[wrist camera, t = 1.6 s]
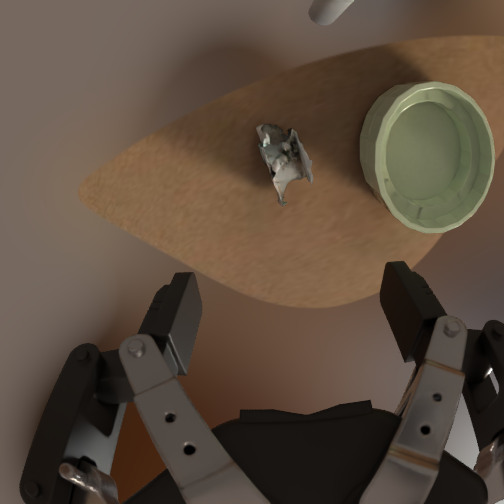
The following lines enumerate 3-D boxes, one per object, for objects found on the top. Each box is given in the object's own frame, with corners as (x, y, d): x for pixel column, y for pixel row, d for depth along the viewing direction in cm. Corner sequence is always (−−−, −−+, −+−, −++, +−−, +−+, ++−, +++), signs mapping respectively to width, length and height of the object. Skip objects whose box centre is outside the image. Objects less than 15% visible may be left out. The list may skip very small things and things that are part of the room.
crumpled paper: (278, 199, 29) (282, 228, 23) (251, 127, 26) (247, 135, 20) (317, 187, 28) (332, 212, 22) (293, 113, 25) (302, 117, 19)
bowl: (355, 74, 22) (373, 70, 18) (470, 95, 21) (497, 99, 17) (355, 215, 30) (369, 235, 25) (460, 213, 28) (482, 231, 24)
